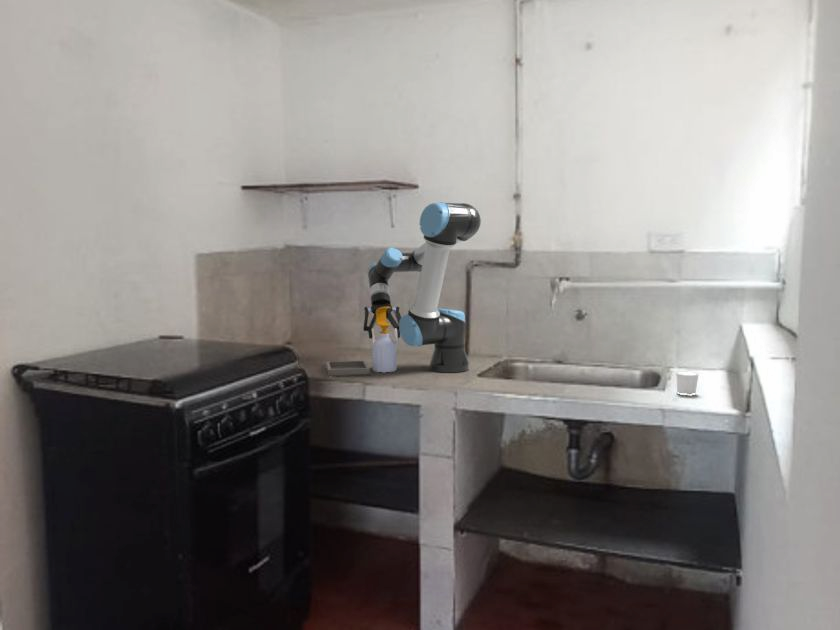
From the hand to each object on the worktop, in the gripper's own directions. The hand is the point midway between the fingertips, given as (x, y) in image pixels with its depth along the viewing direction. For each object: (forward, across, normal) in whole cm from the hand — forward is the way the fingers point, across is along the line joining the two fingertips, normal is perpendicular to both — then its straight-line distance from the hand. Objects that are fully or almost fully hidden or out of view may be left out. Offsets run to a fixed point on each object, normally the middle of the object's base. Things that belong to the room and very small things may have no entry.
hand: (385, 344), depth 266 cm
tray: (+5, +14, -10) cm, 18 cm away
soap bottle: (+5, 0, -10) cm, 11 cm away
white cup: (+44, -93, +28) cm, 106 cm away
